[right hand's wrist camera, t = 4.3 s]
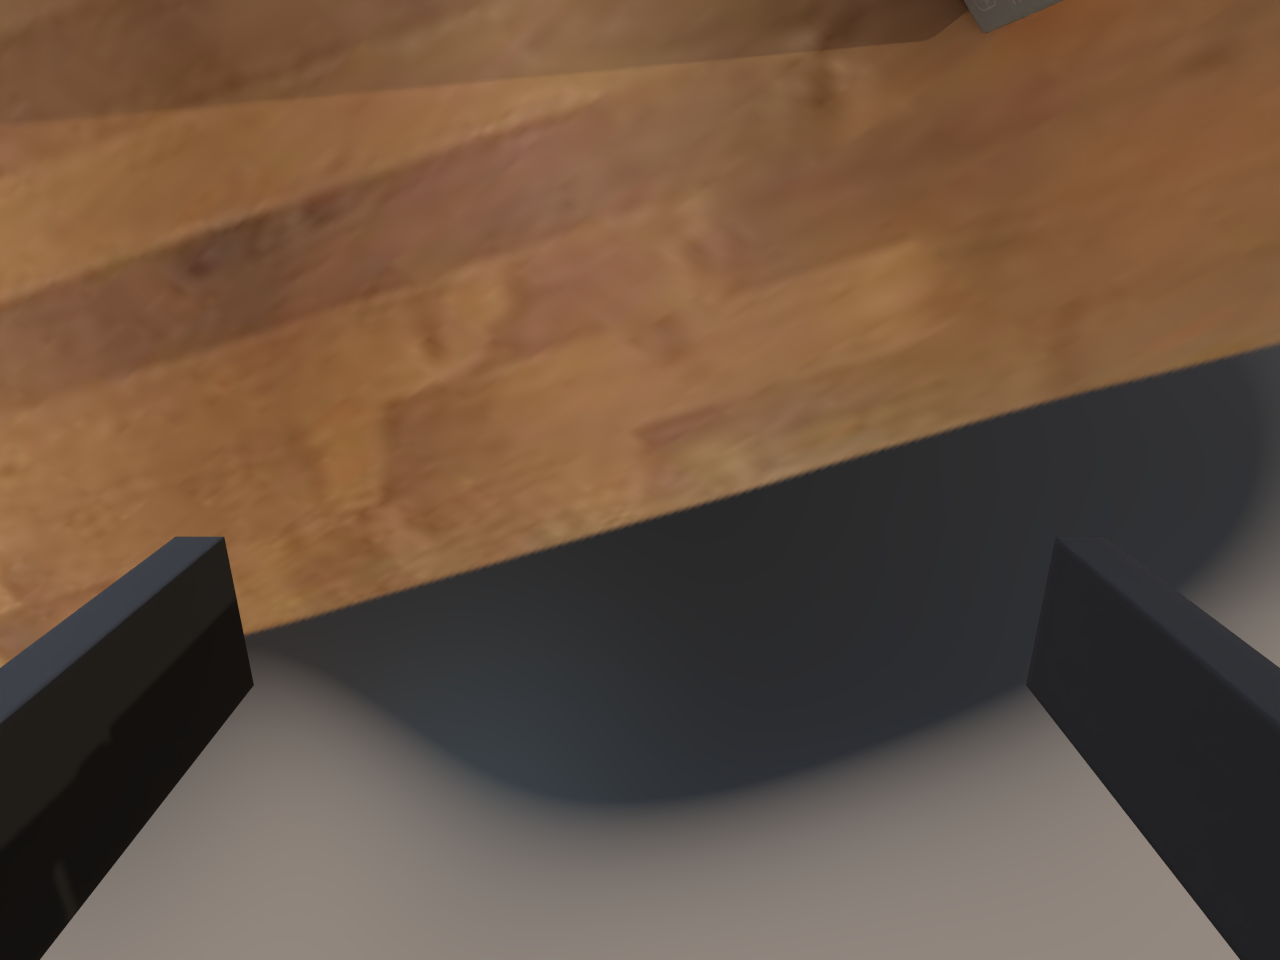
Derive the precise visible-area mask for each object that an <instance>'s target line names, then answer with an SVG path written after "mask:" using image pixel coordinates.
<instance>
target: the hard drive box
mask: <svg viewBox="0 0 1280 960" xmlns="http://www.w3.org/2000/svg"><path fill="white" fill-rule="evenodd" d="M1060 1H1062V0H964V2H965V4H966V5H967V7H968V9H969V11H970V12H971V14H972V16H973V17H974V19H975V21H976V23H977V24H978V26H979V27H980V29H981V30H982V32H984V33H988V32H990V31H993V30H995V29H997V28H1000V27H1002V26H1005V25H1007V24H1009V23H1012V22H1014V21H1017V20H1019V19H1021V18H1024V17H1026V16H1029V15H1031V14H1033V13H1035V12H1038V11H1040V10H1042V9H1044V8H1047V7H1049V6H1051V5H1053V4H1056V3H1058V2H1060Z"/></svg>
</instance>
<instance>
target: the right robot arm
mask: <svg viewBox="0 0 1280 960" xmlns="http://www.w3.org/2000/svg"><path fill="white" fill-rule="evenodd" d="M253 685H254V684H253V679H252V674H251V669H250V664H249V659H248V654H247V649H246V644H245V639H244V634H243V629H242V624H241V619H240V614H239V609H238V604H237V599H236V594H235V589H234V584H233V579H232V574H231V569H230V564H229V559H228V554H227V549H226V544H225V539H224V537H175V538H173V539H172V540H171V541H169V542H168V543H167V544H165V545H164V546H163V547H161V548H160V549H159V550H157V551H156V552H155V553H153V554H152V555H151V556H149V557H148V558H147V559H145V560H144V561H143V562H141V563H140V564H139V565H137V566H136V567H135V568H133V569H132V570H131V571H129V572H128V573H127V574H125V575H124V576H123V577H121V578H120V579H119V580H117V581H116V582H115V583H113V584H112V585H111V586H109V587H108V588H107V589H105V590H104V591H103V592H101V593H100V594H99V595H97V596H96V597H95V598H93V599H92V600H91V601H89V602H88V603H87V604H85V605H84V606H83V607H81V608H80V609H79V610H77V611H76V612H75V613H73V614H72V615H71V616H69V617H68V618H66V619H65V620H64V621H62V622H61V623H60V624H58V625H57V626H56V627H54V628H53V629H52V630H50V631H49V632H48V633H46V634H45V635H44V636H42V637H41V638H40V639H38V640H37V641H36V642H34V643H33V644H32V645H30V646H29V647H28V648H26V649H25V650H24V651H22V652H21V653H20V654H18V655H17V656H16V657H14V658H13V659H12V660H10V661H9V662H8V663H6V664H5V665H4V666H2V667H1V668H0V960H40V959H41V957H42V956H43V955H44V954H45V952H46V951H47V950H48V948H49V947H50V946H51V945H52V943H53V942H54V941H55V939H56V938H57V937H58V936H59V934H60V933H61V932H62V931H63V929H64V928H65V927H66V925H67V924H68V923H69V922H70V920H71V919H72V918H73V916H74V915H75V914H76V913H77V911H78V910H79V909H80V907H81V906H82V905H83V903H84V902H85V901H86V900H87V898H88V897H89V896H90V895H91V893H92V892H93V891H94V889H95V888H96V887H97V886H98V884H99V883H100V882H101V880H102V879H103V878H104V877H105V875H106V874H107V873H108V871H109V870H110V869H111V868H112V866H113V865H114V864H115V862H116V861H117V860H118V859H119V857H120V856H121V855H122V853H123V852H124V851H125V850H126V848H127V847H128V846H129V844H130V843H131V842H132V841H133V839H134V838H135V837H136V835H137V834H138V833H139V832H140V830H141V829H142V828H143V827H144V825H145V824H146V823H147V821H148V820H149V819H150V818H151V816H152V815H153V814H154V812H155V811H156V810H157V809H158V807H159V806H160V805H161V803H162V802H163V801H164V800H165V798H166V797H167V796H168V794H169V793H170V792H171V791H172V789H173V788H174V787H175V785H176V784H177V783H178V782H179V780H180V779H181V778H182V776H183V775H184V774H185V773H186V771H187V770H188V769H189V767H190V766H191V765H192V764H193V762H194V761H195V760H196V759H197V757H198V756H199V755H200V753H201V752H202V751H203V750H204V748H205V747H206V746H207V744H208V743H209V742H210V741H211V739H212V738H213V737H214V735H215V734H216V733H217V731H218V730H219V729H220V728H221V726H222V725H223V724H224V723H225V721H226V720H227V719H228V717H229V716H230V715H231V714H232V712H233V711H234V710H235V708H236V707H237V706H238V705H239V703H240V702H241V701H242V699H243V698H244V697H245V696H246V694H247V693H248V692H249V690H250V689H251V688H252V687H253ZM1026 685H1027V687H1028V688H1029V689H1030V690H1031V692H1032V693H1033V694H1034V696H1035V697H1036V698H1037V699H1038V701H1039V702H1040V703H1041V705H1042V706H1043V707H1044V708H1045V710H1046V711H1047V712H1048V714H1049V715H1050V716H1051V717H1052V719H1053V720H1054V721H1055V723H1056V724H1057V725H1058V726H1059V728H1060V729H1061V730H1062V732H1063V733H1064V734H1065V735H1066V737H1067V738H1068V739H1069V741H1070V742H1071V743H1072V744H1073V746H1074V747H1075V748H1076V749H1077V751H1078V752H1079V753H1080V755H1081V756H1082V757H1083V759H1084V760H1085V761H1086V762H1087V764H1088V765H1089V766H1090V767H1091V769H1092V770H1093V771H1094V773H1095V774H1096V775H1097V776H1098V778H1099V779H1100V780H1101V782H1102V783H1103V784H1104V785H1105V787H1106V788H1107V789H1108V791H1109V792H1110V793H1111V794H1112V796H1113V797H1114V798H1115V799H1116V801H1117V802H1118V803H1119V805H1120V806H1121V807H1122V809H1123V810H1124V811H1125V812H1126V814H1127V815H1128V816H1129V818H1130V819H1131V820H1132V821H1133V823H1134V824H1135V825H1136V826H1137V828H1138V829H1139V830H1140V832H1141V833H1142V834H1143V836H1144V837H1145V838H1146V839H1147V841H1148V842H1149V843H1150V844H1151V846H1152V847H1153V848H1154V850H1155V851H1156V852H1157V853H1158V855H1159V856H1160V857H1161V859H1162V860H1163V861H1164V862H1165V864H1166V865H1167V866H1168V868H1169V869H1170V870H1171V871H1172V873H1173V874H1174V875H1175V877H1176V878H1177V879H1178V880H1179V882H1180V883H1181V884H1182V886H1183V887H1184V888H1185V889H1186V891H1187V892H1188V893H1189V895H1190V896H1191V897H1192V898H1193V900H1194V901H1195V902H1196V903H1197V905H1198V906H1199V907H1200V909H1201V910H1202V911H1203V913H1204V914H1205V915H1206V916H1207V918H1208V919H1209V920H1210V921H1211V923H1212V924H1213V925H1214V927H1215V928H1216V929H1217V930H1218V932H1219V933H1220V934H1221V936H1222V937H1223V938H1224V939H1225V941H1226V942H1227V943H1228V945H1229V946H1230V947H1231V948H1232V950H1233V951H1234V952H1235V954H1236V955H1237V956H1238V957H1239V959H1240V960H1280V668H1279V667H1278V666H1276V665H1275V664H1274V663H1272V662H1271V661H1270V660H1268V659H1267V658H1266V657H1264V656H1263V655H1262V654H1260V653H1259V652H1258V651H1256V650H1255V649H1254V648H1252V647H1251V646H1250V645H1248V644H1247V643H1246V642H1244V641H1243V640H1241V639H1240V638H1239V637H1238V636H1236V635H1235V634H1234V633H1232V632H1231V631H1229V630H1228V629H1227V628H1226V627H1224V626H1223V625H1221V624H1220V623H1219V622H1218V621H1216V620H1215V619H1213V618H1212V617H1211V616H1209V615H1208V614H1207V613H1205V612H1204V611H1203V610H1201V609H1200V608H1199V607H1197V606H1196V605H1195V604H1193V603H1192V602H1191V601H1189V600H1188V599H1187V598H1185V597H1184V596H1183V595H1181V594H1180V593H1179V592H1177V591H1176V590H1175V589H1173V588H1172V587H1171V586H1169V585H1168V584H1167V583H1165V582H1164V581H1163V580H1161V579H1160V578H1159V577H1157V576H1156V575H1155V574H1153V573H1152V572H1151V571H1149V570H1148V569H1147V568H1145V567H1144V566H1143V565H1141V564H1140V563H1139V562H1137V561H1136V560H1135V559H1133V558H1132V557H1131V556H1129V555H1128V554H1127V553H1125V552H1124V551H1123V550H1121V549H1120V548H1119V547H1117V546H1116V545H1115V544H1113V543H1112V542H1111V541H1109V540H1108V539H1107V538H1105V537H1056V539H1055V544H1054V549H1053V554H1052V559H1051V564H1050V569H1049V574H1048V579H1047V584H1046V589H1045V594H1044V599H1043V604H1042V609H1041V614H1040V619H1039V624H1038V629H1037V634H1036V639H1035V644H1034V649H1033V654H1032V659H1031V664H1030V669H1029V674H1028V679H1027V684H1026Z"/></svg>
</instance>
